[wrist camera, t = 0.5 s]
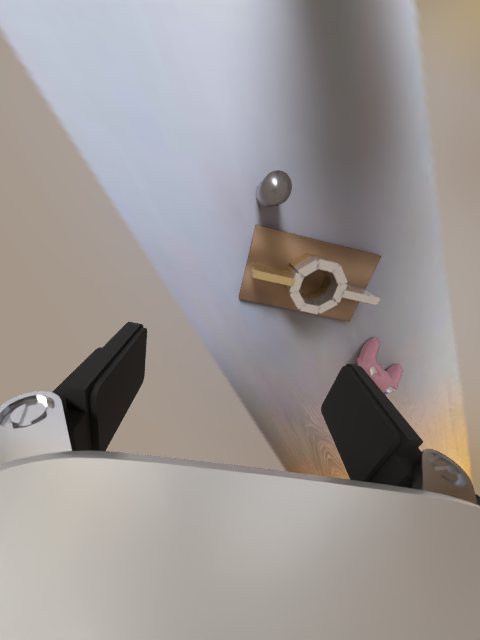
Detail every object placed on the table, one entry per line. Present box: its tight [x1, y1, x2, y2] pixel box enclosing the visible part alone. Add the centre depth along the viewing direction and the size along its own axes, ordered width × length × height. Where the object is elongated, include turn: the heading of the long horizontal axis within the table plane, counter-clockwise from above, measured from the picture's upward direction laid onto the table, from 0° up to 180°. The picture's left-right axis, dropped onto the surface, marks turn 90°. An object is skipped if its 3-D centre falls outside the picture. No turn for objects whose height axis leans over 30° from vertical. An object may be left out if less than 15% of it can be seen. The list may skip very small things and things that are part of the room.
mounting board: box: [239, 225, 381, 322], centre depth 34 cm, size 11×19×1 cm, turn 77°
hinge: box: [251, 253, 381, 314], centre depth 32 cm, size 7×18×5 cm, turn 77°
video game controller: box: [357, 338, 403, 394], centre depth 40 cm, size 10×5×7 cm, turn 45°
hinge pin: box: [256, 171, 292, 207], centre depth 26 cm, size 3×3×8 cm
